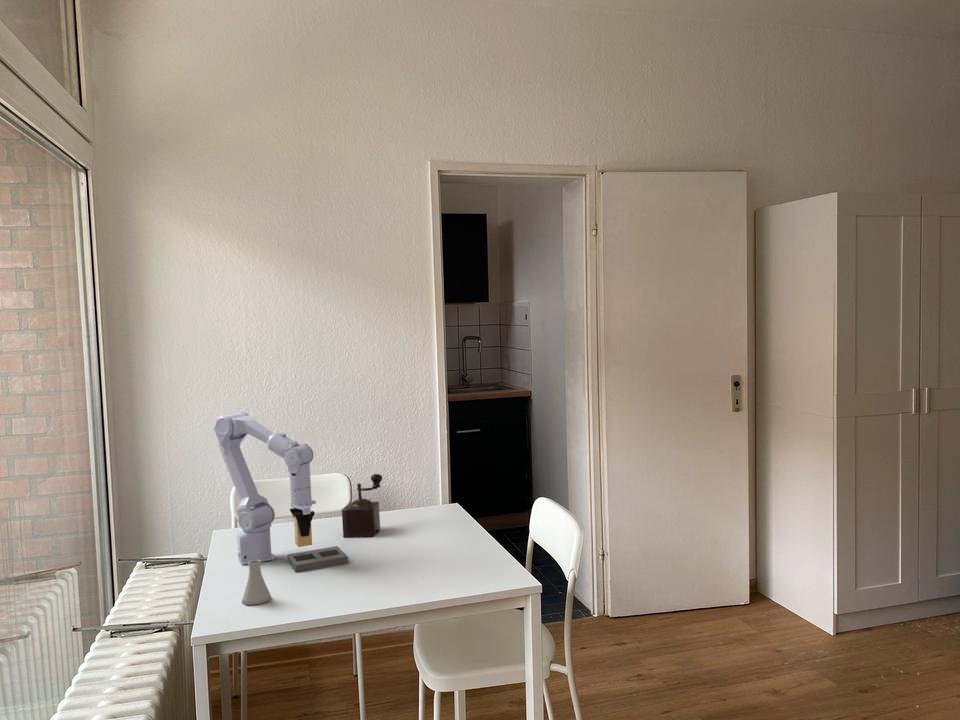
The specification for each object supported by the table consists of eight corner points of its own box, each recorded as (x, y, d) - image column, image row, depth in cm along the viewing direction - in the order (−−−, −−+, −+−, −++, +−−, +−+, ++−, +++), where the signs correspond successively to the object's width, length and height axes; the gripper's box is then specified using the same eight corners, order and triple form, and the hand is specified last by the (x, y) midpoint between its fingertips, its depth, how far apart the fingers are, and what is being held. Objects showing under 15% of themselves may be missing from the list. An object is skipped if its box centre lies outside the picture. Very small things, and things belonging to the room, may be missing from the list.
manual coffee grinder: (376, 537, 242) (373, 482, 242) (342, 538, 243) (339, 482, 243) (386, 524, 258) (383, 472, 257) (354, 525, 259) (351, 473, 258)
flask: (243, 608, 185) (240, 567, 184) (240, 598, 191) (237, 560, 191) (273, 602, 188) (271, 562, 187) (269, 593, 194) (267, 555, 194)
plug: (298, 547, 214) (296, 516, 214) (295, 543, 218) (293, 513, 218) (312, 544, 216) (310, 514, 216) (309, 541, 220) (307, 511, 219)
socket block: (295, 572, 210) (295, 564, 210) (287, 561, 221) (286, 553, 221) (348, 563, 217) (347, 555, 216) (337, 552, 227) (337, 545, 227)
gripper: (320, 490, 211) (322, 537, 212) (309, 481, 225) (311, 526, 225) (294, 493, 209) (297, 541, 209) (285, 484, 222) (287, 529, 222)
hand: (303, 534), depth 217 cm, fingers closed on plug, 4 cm apart
